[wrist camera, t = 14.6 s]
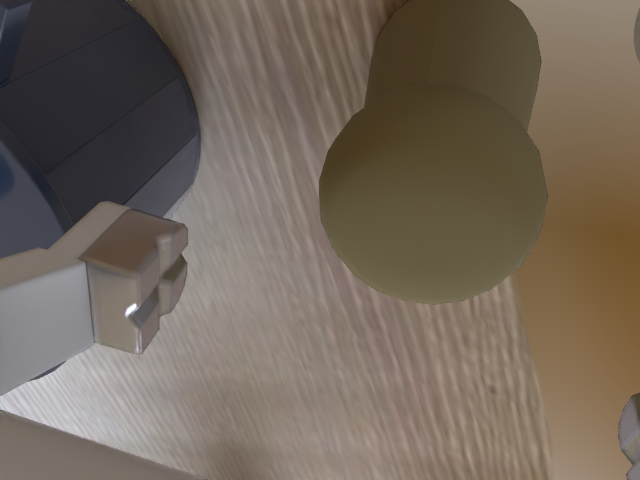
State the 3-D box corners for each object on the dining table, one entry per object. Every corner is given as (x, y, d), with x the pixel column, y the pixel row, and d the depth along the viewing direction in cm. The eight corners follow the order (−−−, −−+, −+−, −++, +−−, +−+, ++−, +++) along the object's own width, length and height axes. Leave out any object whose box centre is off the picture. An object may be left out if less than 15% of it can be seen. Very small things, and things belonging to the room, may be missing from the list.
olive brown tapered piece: (512, 162, 22) (522, 370, 13) (360, 132, 23) (277, 309, 14) (566, -2, 19) (628, 135, 10) (384, -30, 20) (293, 74, 11)
